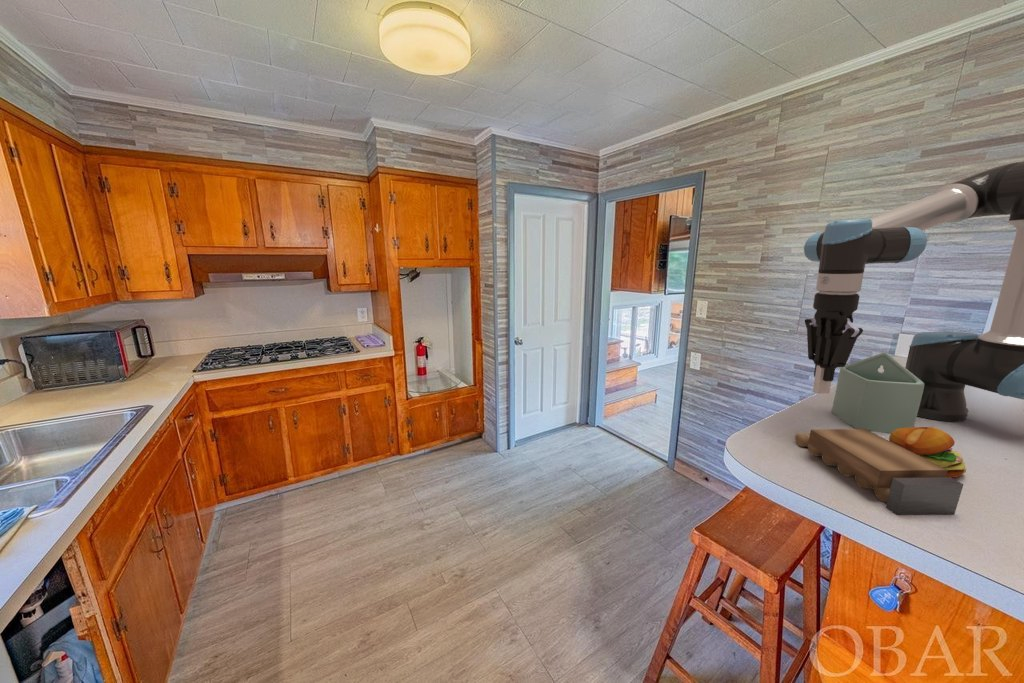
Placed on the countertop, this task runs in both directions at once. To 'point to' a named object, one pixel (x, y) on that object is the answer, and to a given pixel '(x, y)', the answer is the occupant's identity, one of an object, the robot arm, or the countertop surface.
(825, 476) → the countertop surface
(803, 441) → the cylinder
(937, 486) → the stop rail
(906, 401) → the planter
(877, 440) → the board
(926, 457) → the cheeseburger
